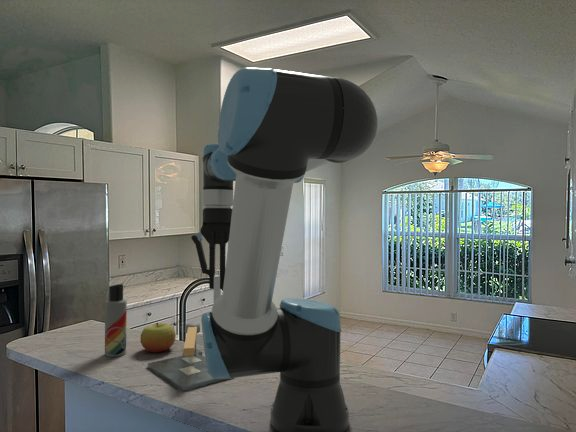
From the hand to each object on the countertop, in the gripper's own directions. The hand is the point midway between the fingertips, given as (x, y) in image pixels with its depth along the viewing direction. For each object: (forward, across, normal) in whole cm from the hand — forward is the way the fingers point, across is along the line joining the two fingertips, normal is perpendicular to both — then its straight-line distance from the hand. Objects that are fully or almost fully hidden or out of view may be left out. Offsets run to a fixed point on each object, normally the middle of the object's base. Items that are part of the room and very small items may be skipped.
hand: (217, 301), depth 105 cm
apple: (+19, +19, -21) cm, 34 cm away
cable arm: (+12, +7, -7) cm, 15 cm away
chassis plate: (+18, +7, -2) cm, 20 cm away
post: (+18, +8, -16) cm, 26 cm away
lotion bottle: (+19, +30, -18) cm, 40 cm away
